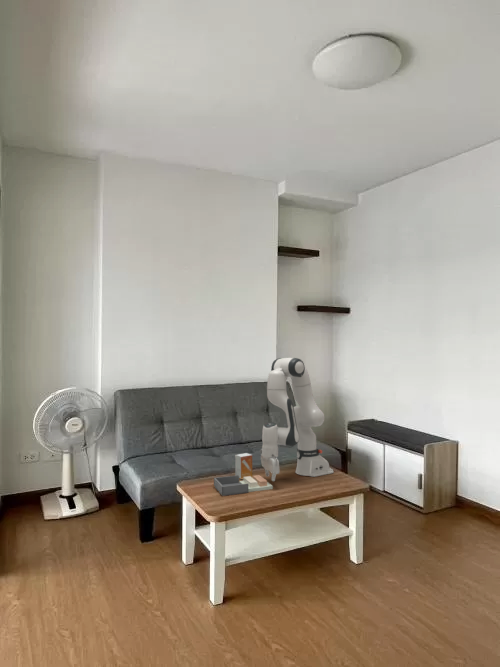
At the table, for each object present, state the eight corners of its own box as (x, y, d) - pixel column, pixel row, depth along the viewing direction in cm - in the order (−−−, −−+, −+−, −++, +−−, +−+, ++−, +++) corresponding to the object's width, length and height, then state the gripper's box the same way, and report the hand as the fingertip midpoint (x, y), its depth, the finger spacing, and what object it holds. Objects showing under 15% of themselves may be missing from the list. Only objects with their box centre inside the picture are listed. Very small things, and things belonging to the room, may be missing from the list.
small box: (241, 479, 267) (240, 456, 267) (235, 477, 272) (234, 454, 272) (252, 477, 271) (252, 454, 271) (246, 474, 276) (246, 452, 277)
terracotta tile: (259, 479, 261) (259, 475, 261) (267, 485, 249) (267, 480, 249) (252, 480, 259) (252, 475, 259) (260, 486, 248) (260, 481, 248)
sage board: (263, 481, 263) (262, 478, 263) (272, 489, 249) (272, 485, 249) (239, 484, 258) (239, 481, 258) (247, 492, 244) (247, 488, 244)
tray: (238, 483, 260) (238, 475, 260) (248, 492, 243) (248, 483, 243) (213, 486, 255) (213, 477, 255) (222, 496, 239) (222, 486, 239)
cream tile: (250, 480, 259) (250, 476, 259) (257, 486, 248) (257, 482, 248) (243, 481, 258) (243, 476, 258) (250, 487, 246) (250, 482, 246)
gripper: (282, 456, 248) (282, 483, 248) (269, 448, 268) (269, 473, 267) (271, 457, 246) (271, 484, 246) (259, 449, 266) (259, 474, 265)
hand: (270, 478), depth 257 cm, fingers open, 8 cm apart
